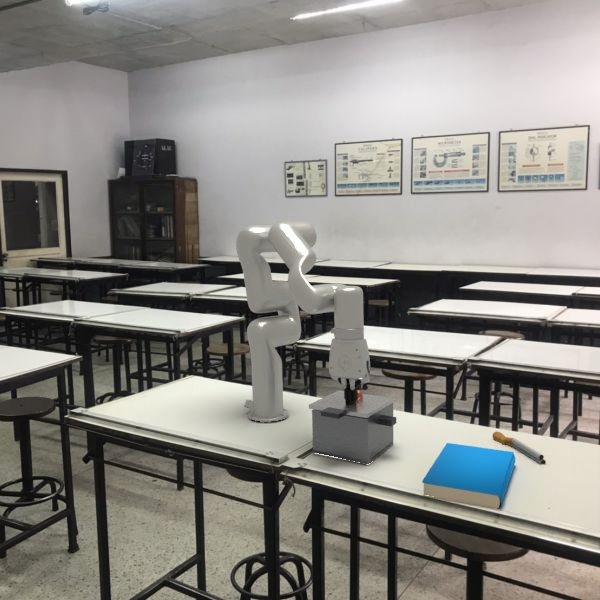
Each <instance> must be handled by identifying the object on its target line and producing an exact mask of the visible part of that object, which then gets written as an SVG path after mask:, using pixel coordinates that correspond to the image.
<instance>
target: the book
mask: <svg viewBox="0 0 600 600" xmlns="http://www.w3.org/2000/svg"><path fill="white" fill-rule="evenodd" d="M515 463H516V456H515V454H514V451H508V450H501V449H494V448H488V447H487V448H486V447H481V446H473V445H466V444H460V443H459V444H457V443H451V442H446V444H445V445H444V447H442V450H441V451H440V453H439V455H438V456H437V457H436V459H435V460H434V462H433V463H432V465H431V467H430V468H429V470H428V471H427V472H426V474H425V476H424V477H423V479H422V482H421V483H422V484H423V496H424V495H429V496H434V497H437V498H436V499H439V498H441V499H440V500H445V499H447V501H451V500H452V502H456V501H457V502H456V503H464V504H468V505H475V506H480V507H486V508H490V509H491V508H492V509H497V510H498V509H500V508H501V507H502V504H503V501H504V497H505V494H506V492H507V489H508V485H509V482H510V480H511V477H512V473H513V470H514V467H515ZM434 497H433V498H434Z"/></svg>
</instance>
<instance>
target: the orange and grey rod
mask: <svg viewBox="0 0 600 600" xmlns="http://www.w3.org/2000/svg"><path fill="white" fill-rule="evenodd" d="M492 438H493V440H494V441H496V442H498V443H501V444H502V445H509V446H510V447H512V448H514V449H516V450H517V451H519V452H521V454H523V455H526V456H527V457H528V458H530V459H531V460H533V459H534V460H533V461H535V462H536V463H538V462H539V463H538V464H540V465H546V459H544V457H545V455H543V454H542V453H540V452H539V451H538V450H537V451H536V450H535V449H533V448H531V447H530V446H528V445H527V444H525V443H523V442H522V441H519V440H518V439H516V438H514V437H508V436H505V435H504V434H503V433H502V432H501V431H496V430H495V431H494V432H493V433H492Z"/></svg>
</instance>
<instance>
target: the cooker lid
mask: <svg viewBox="0 0 600 600" xmlns="http://www.w3.org/2000/svg"><path fill="white" fill-rule="evenodd" d="M392 403H393V404H394V403H395V398H394V397H389V396H382V395H375V394H367V393H364V391H363V390H362V389H357V400H356V402H355V403H353V404H352V405H350V404H346V403H345V399H344V390H336V391H334V392H333V393H330V394H328V395H326V396H324V397H322V398H320V399H318V400H316V401H313V402H311V403H309V404H308V409H309V410H313V409H315V410H321V416H325V417H331V418H337V419H339V418H341V417H343V416H345V415H351V416H357V417H363V418H369V417H370V416H372V415H374V414H375V413H377V412H378V411H380V410H382V409H383V408H385V407H387V406H388V405H390V404H392Z"/></svg>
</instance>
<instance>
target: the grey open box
mask: <svg viewBox="0 0 600 600" xmlns="http://www.w3.org/2000/svg"><path fill="white" fill-rule="evenodd" d="M311 416H312V419H311V422H312V423H311V425H312V454H313V453H319V454H324V455H329V456H334V457H338V458H342V459H346V460H350V461H355V462H360V463H365V464H369V463H371V462H372V461H373V462H374V461H376V460H377V459H378V458H380V456H382V455H383V454H384V453H385V452H387V451H388V450H389V449H390V448H391V447H393V446H394V425H396V424H397V416H394V402H393V403H392V404H390V405H388V406H387V407H385V408H383V409H382V410H380V411H378V412H377V413H375V414H374V415H372V416H370V417H369V418H363V417H357V416H351V415H345V416H343V417H341V418H339V419H337V418H331V417H325V416H321V410H315V409H311ZM387 449H388V450H387ZM386 450H387V451H386ZM376 458H377V459H376ZM375 459H376V460H375ZM373 462H372V463H373ZM372 463H371V464H372Z"/></svg>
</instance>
